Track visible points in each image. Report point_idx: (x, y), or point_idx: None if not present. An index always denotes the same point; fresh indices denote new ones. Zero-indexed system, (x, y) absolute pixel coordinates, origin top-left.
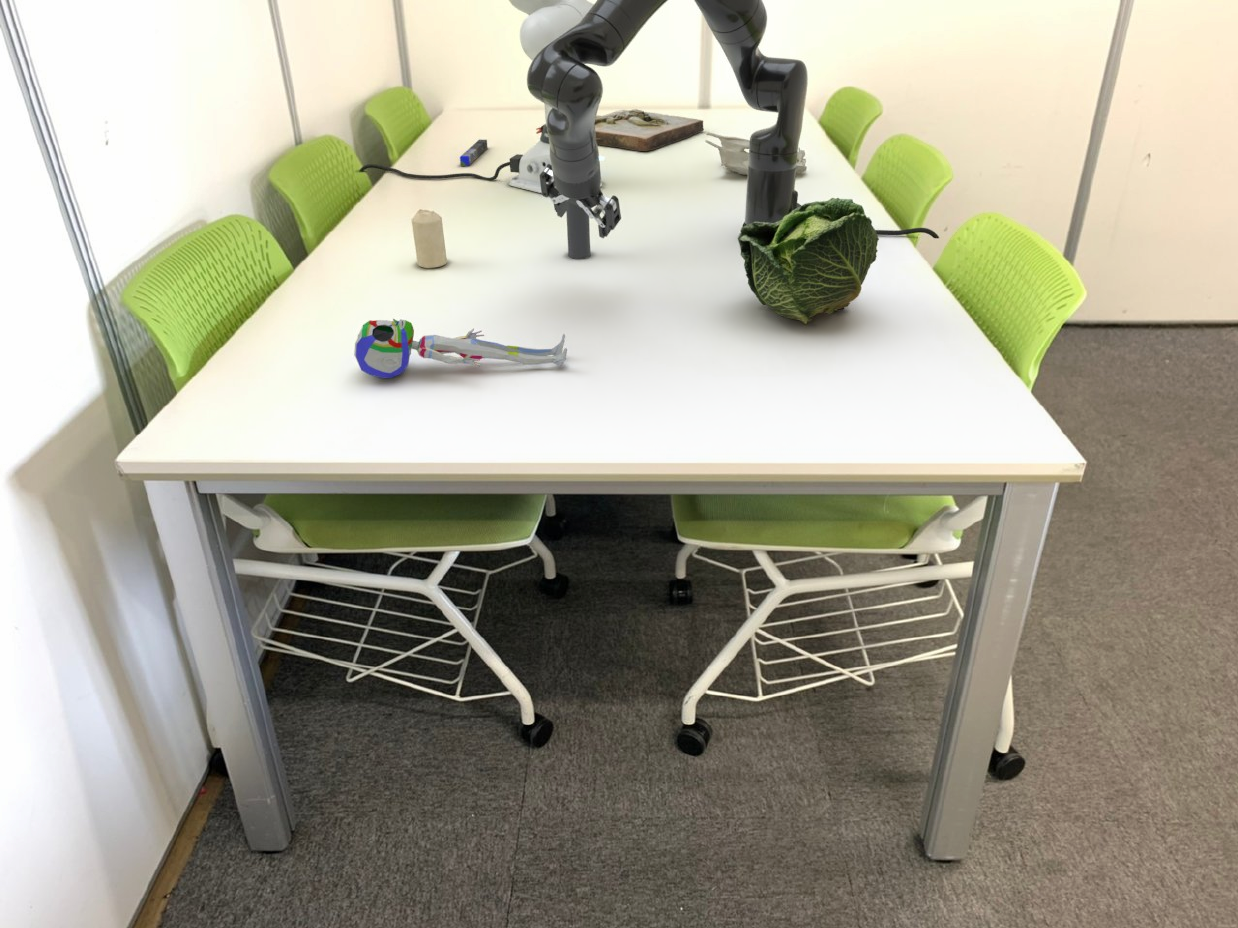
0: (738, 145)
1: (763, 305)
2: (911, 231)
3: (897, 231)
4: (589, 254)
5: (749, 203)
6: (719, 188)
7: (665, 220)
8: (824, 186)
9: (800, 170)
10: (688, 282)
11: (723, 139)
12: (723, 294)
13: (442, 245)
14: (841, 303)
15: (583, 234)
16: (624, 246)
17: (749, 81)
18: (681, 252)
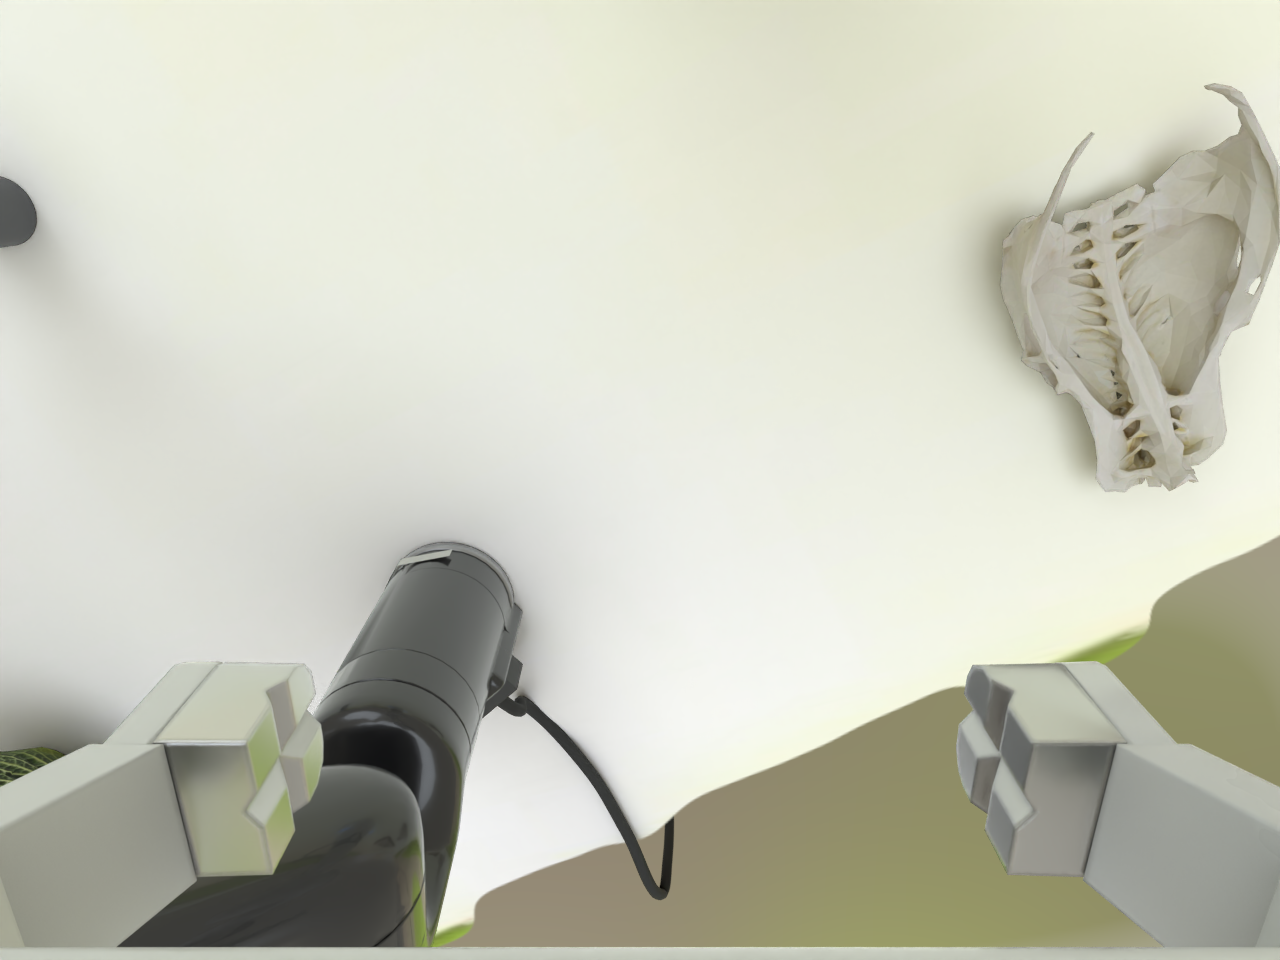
0: (1247, 207)
1: (41, 747)
2: (635, 865)
3: (625, 840)
4: (12, 245)
5: (368, 618)
6: (865, 274)
7: (439, 279)
8: (1011, 564)
9: (1136, 460)
10: (55, 562)
11: (1252, 142)
12: (52, 653)
13: None
14: None
15: None
16: (156, 290)
17: None
18: (220, 456)
